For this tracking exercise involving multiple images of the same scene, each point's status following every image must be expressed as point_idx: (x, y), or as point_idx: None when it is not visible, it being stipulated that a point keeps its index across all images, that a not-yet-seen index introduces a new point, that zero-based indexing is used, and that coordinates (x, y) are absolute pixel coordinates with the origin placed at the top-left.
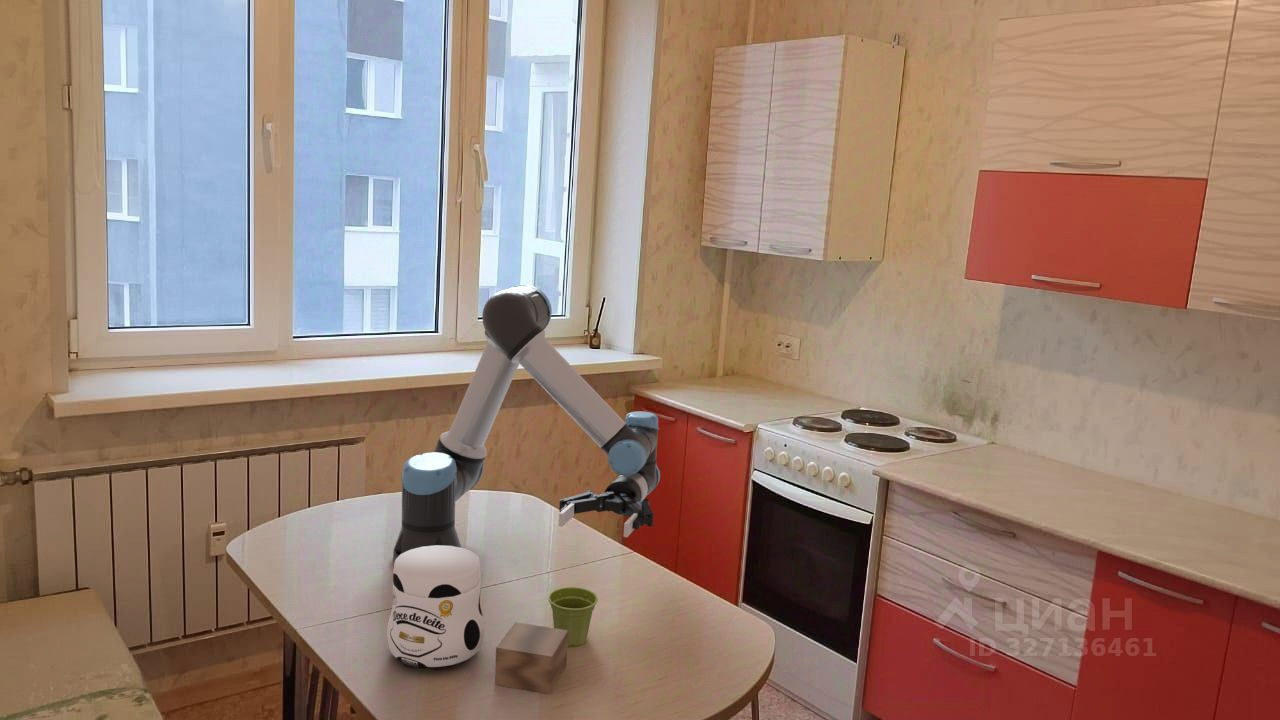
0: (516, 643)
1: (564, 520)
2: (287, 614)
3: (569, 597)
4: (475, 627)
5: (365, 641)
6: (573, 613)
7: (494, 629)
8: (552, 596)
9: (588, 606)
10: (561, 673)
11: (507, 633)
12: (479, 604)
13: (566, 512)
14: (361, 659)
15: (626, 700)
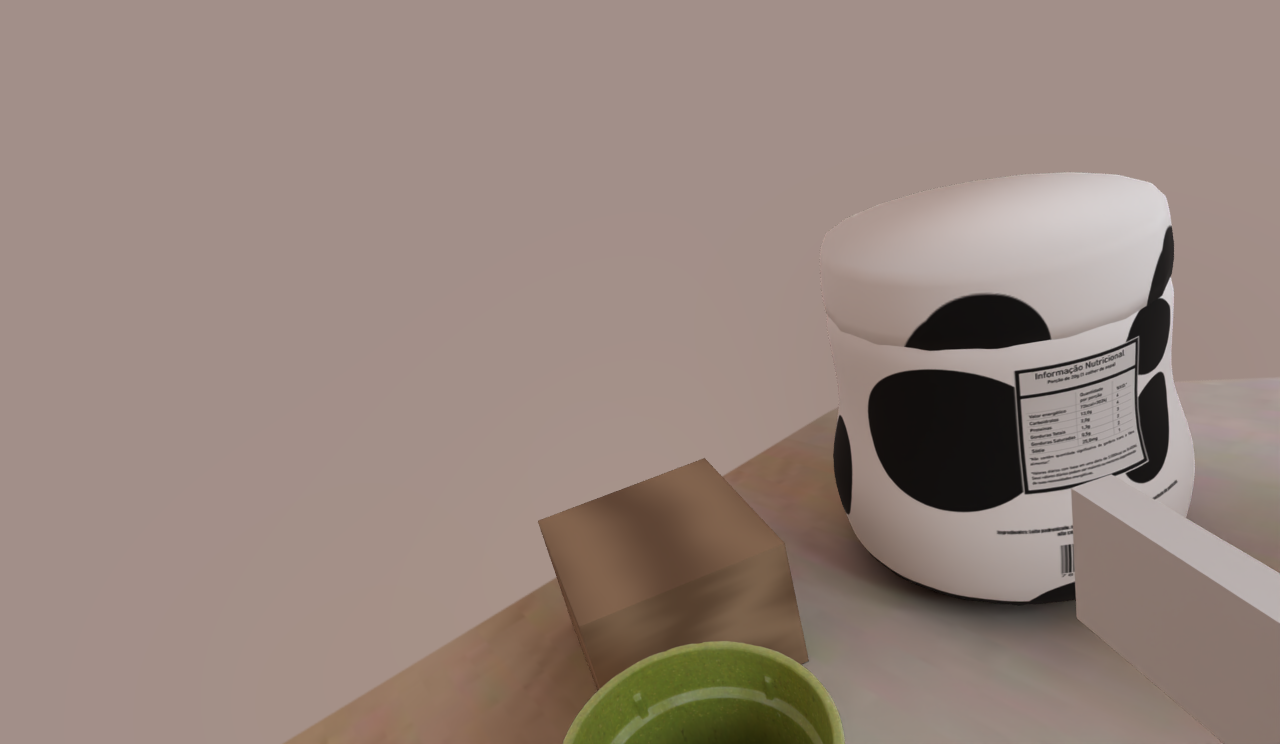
0: (672, 493)
1: (1124, 615)
2: None
3: None
4: (844, 456)
5: (1208, 445)
6: (631, 703)
7: (1077, 733)
8: (821, 715)
9: (570, 737)
10: None
11: (741, 500)
12: (882, 427)
13: (1178, 582)
14: None
15: (347, 740)
